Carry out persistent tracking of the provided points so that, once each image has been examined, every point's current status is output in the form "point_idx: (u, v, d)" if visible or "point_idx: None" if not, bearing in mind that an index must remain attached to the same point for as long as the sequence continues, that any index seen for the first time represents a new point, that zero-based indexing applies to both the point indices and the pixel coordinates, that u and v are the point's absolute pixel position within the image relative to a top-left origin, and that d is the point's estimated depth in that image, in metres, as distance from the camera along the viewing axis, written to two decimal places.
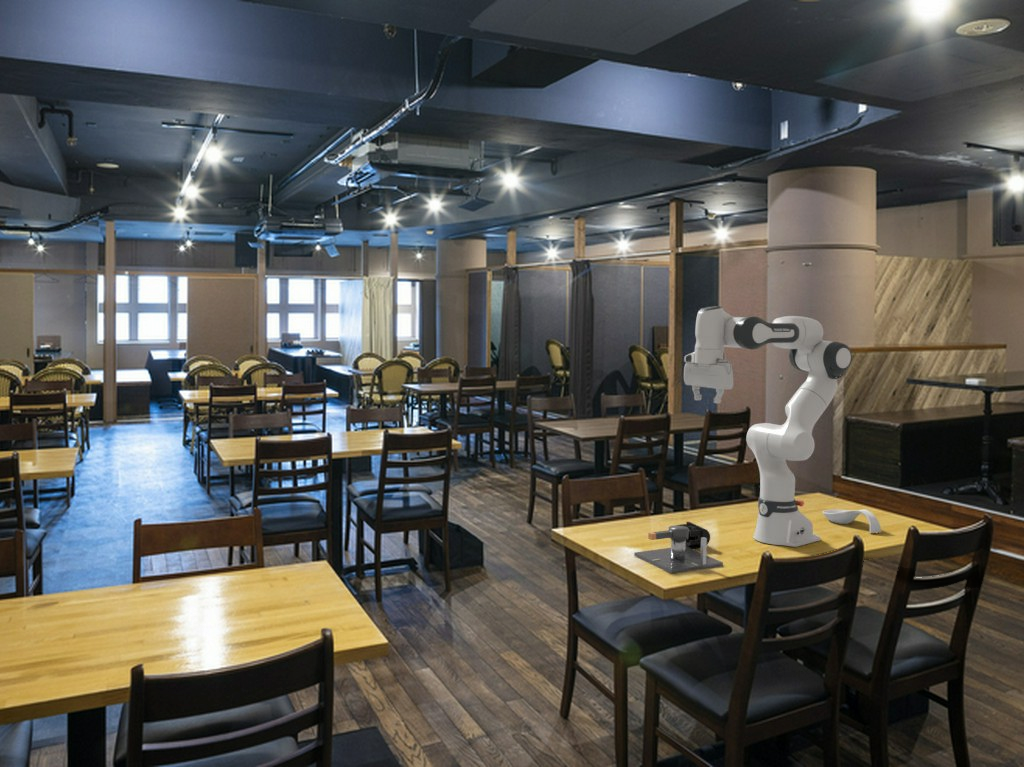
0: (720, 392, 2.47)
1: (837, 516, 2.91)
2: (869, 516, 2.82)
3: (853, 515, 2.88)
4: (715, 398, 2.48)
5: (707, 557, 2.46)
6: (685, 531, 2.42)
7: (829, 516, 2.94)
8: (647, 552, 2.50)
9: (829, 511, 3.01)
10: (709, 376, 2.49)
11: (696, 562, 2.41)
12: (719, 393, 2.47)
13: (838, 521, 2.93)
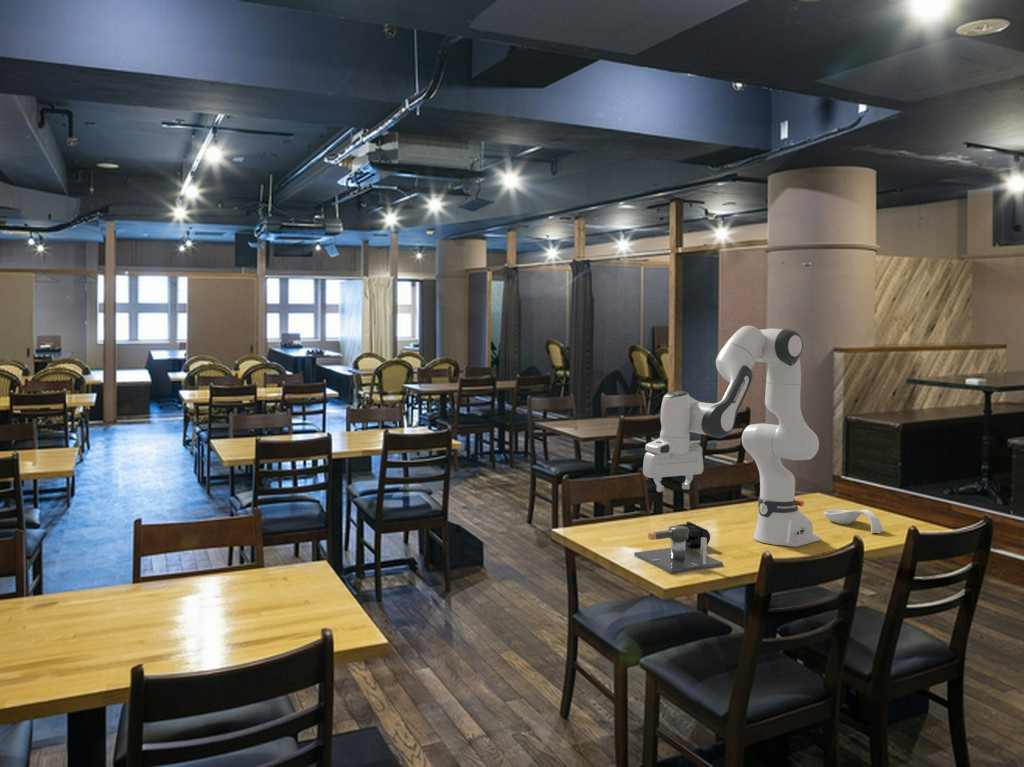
0: None
1: (838, 516, 2.91)
2: (870, 516, 2.81)
3: (854, 515, 2.88)
4: (688, 484, 2.44)
5: (707, 557, 2.46)
6: (685, 531, 2.42)
7: (830, 516, 2.93)
8: (647, 552, 2.50)
9: (830, 511, 3.00)
10: (684, 463, 2.42)
11: (696, 562, 2.41)
12: None
13: (839, 522, 2.92)
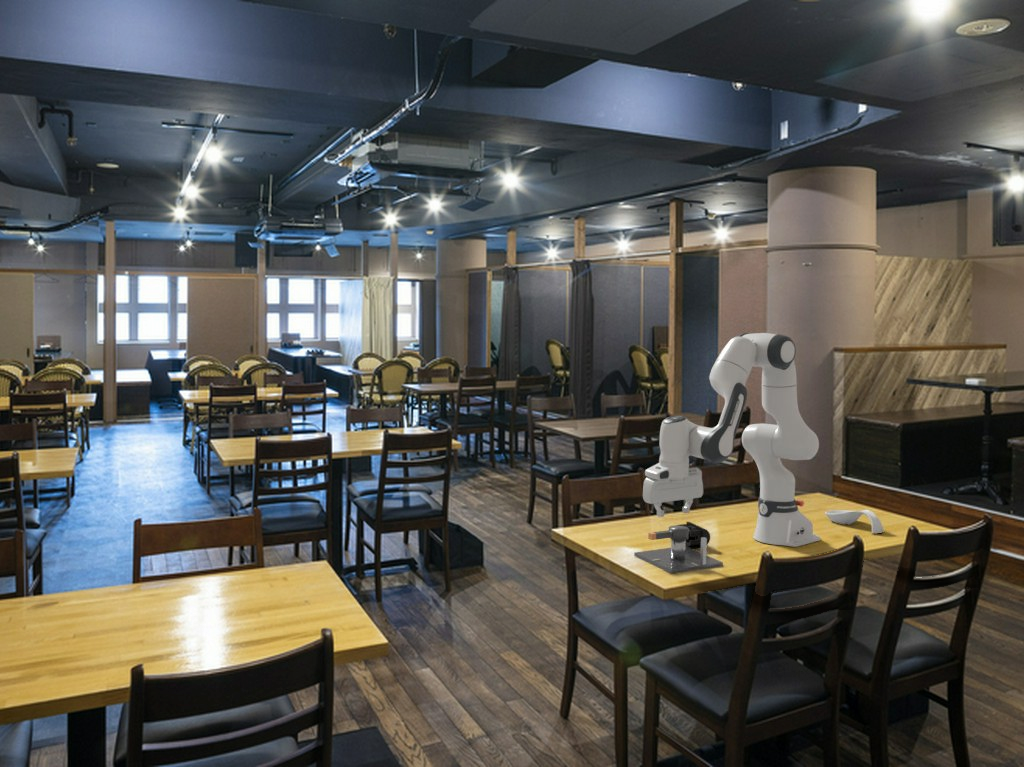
0: None
1: (839, 516, 2.91)
2: (871, 517, 2.81)
3: (855, 516, 2.88)
4: (688, 508, 2.45)
5: (707, 557, 2.46)
6: (685, 531, 2.42)
7: (831, 517, 2.93)
8: (647, 552, 2.50)
9: (831, 511, 3.00)
10: (684, 488, 2.43)
11: (696, 562, 2.41)
12: None
13: (841, 522, 2.92)
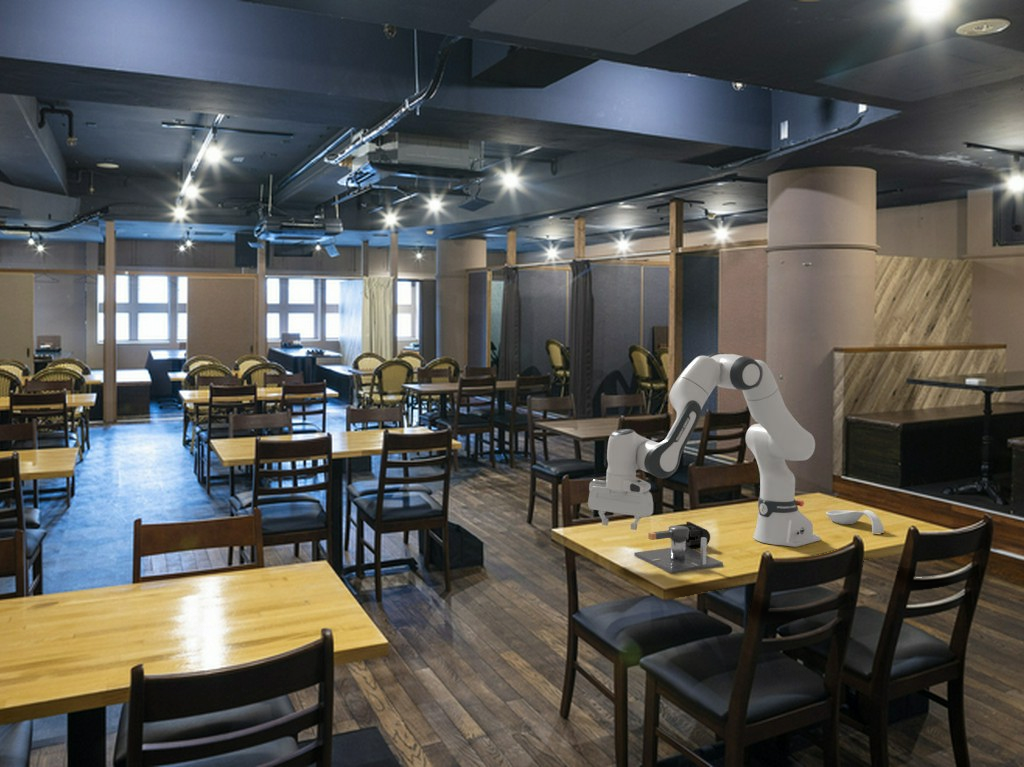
0: None
1: (840, 517, 2.90)
2: (872, 517, 2.80)
3: (856, 516, 2.87)
4: None
5: (707, 557, 2.46)
6: (685, 531, 2.42)
7: (832, 517, 2.93)
8: (647, 552, 2.50)
9: (833, 512, 3.00)
10: None
11: (696, 562, 2.41)
12: None
13: (841, 522, 2.92)
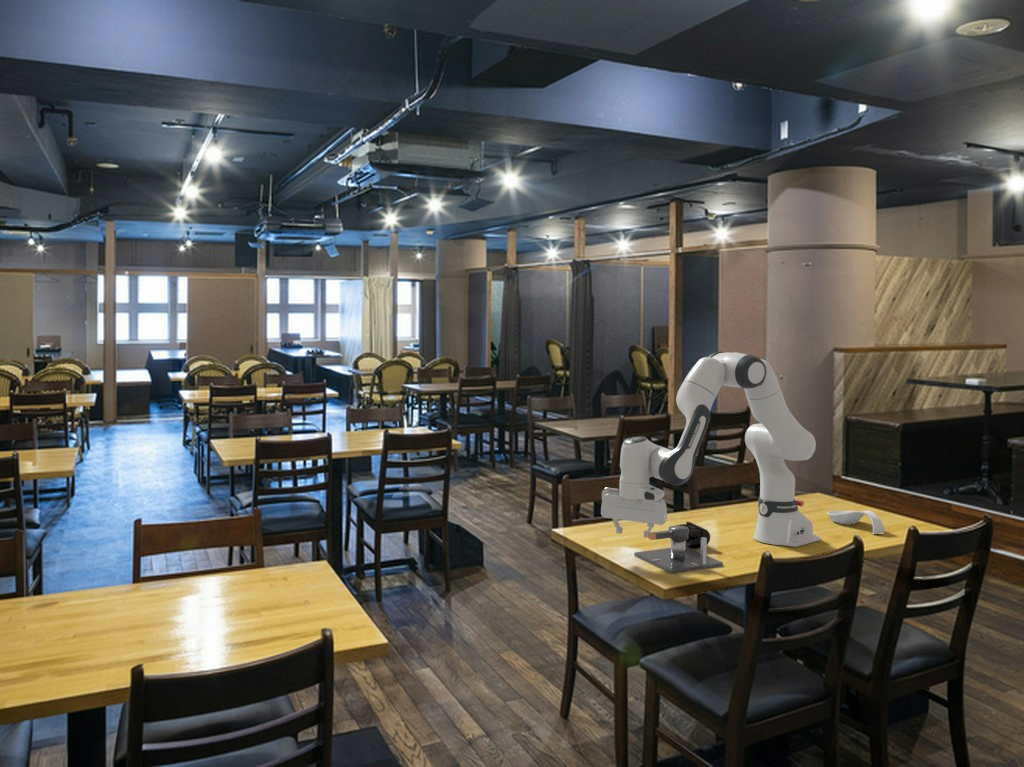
0: None
1: (840, 517, 2.90)
2: (872, 517, 2.80)
3: (857, 516, 2.87)
4: None
5: (707, 557, 2.46)
6: (685, 531, 2.42)
7: (833, 517, 2.93)
8: (647, 552, 2.50)
9: (834, 512, 3.00)
10: None
11: (696, 562, 2.41)
12: None
13: (842, 522, 2.91)
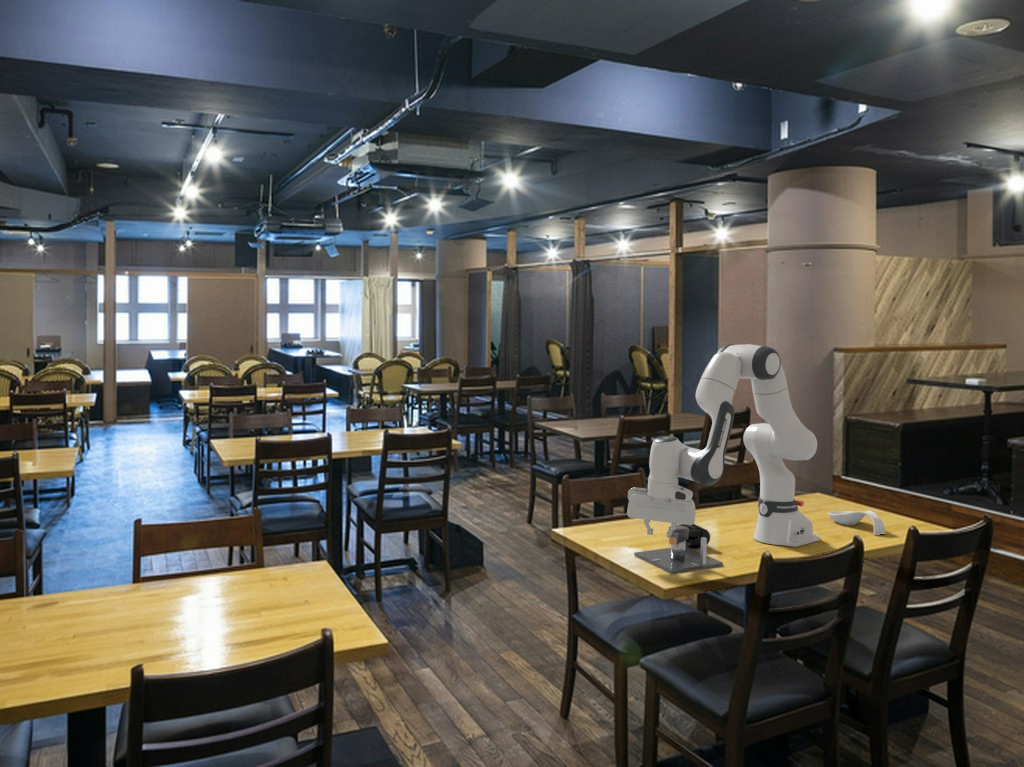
0: None
1: (841, 517, 2.90)
2: (873, 517, 2.80)
3: (858, 516, 2.87)
4: None
5: (707, 557, 2.46)
6: (688, 530, 2.44)
7: (834, 517, 2.92)
8: (647, 552, 2.50)
9: (835, 512, 2.99)
10: None
11: (696, 562, 2.41)
12: None
13: (843, 523, 2.91)
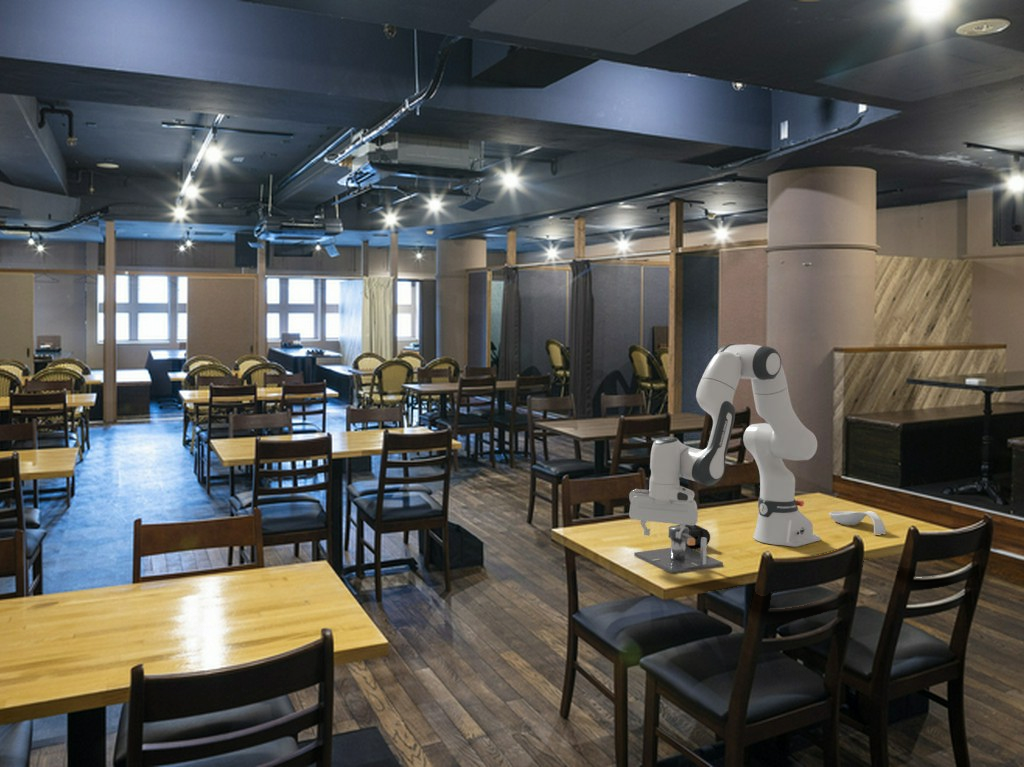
0: None
1: (842, 517, 2.89)
2: (874, 518, 2.79)
3: (859, 517, 2.86)
4: None
5: (707, 557, 2.46)
6: None
7: (835, 517, 2.92)
8: (647, 552, 2.50)
9: (836, 512, 2.99)
10: None
11: (696, 562, 2.41)
12: None
13: (844, 523, 2.91)
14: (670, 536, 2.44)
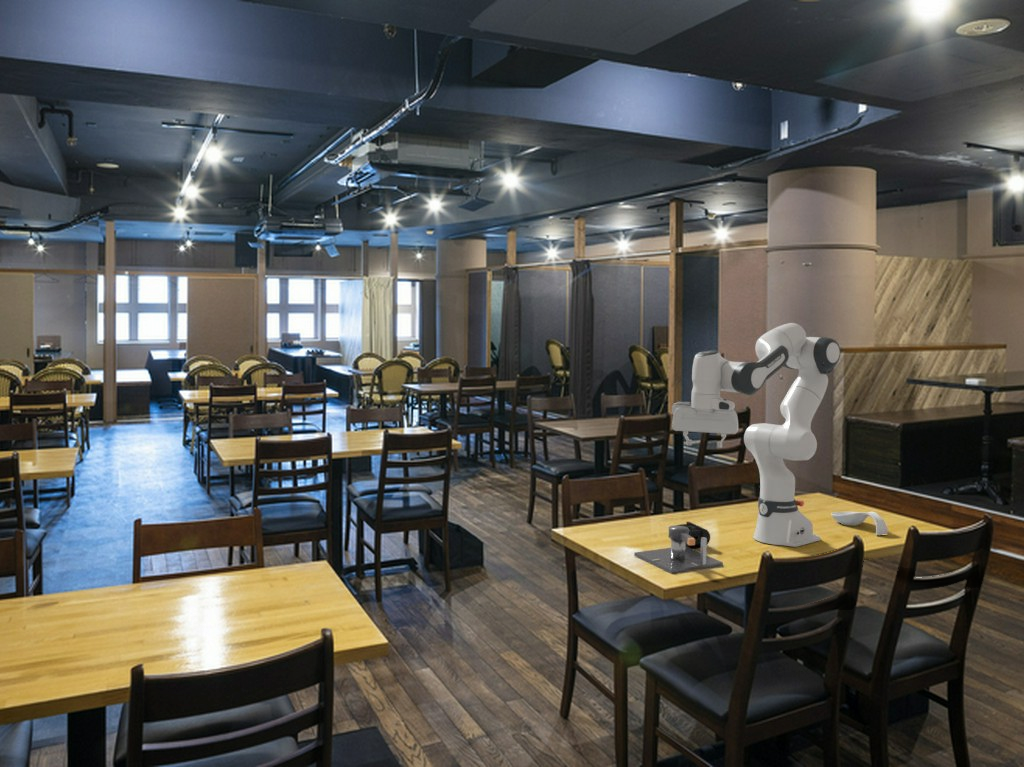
0: None
1: (844, 518, 2.89)
2: (876, 518, 2.79)
3: (861, 517, 2.86)
4: None
5: (707, 557, 2.46)
6: None
7: (837, 518, 2.92)
8: (647, 552, 2.50)
9: (838, 513, 2.98)
10: None
11: (696, 562, 2.41)
12: None
13: (846, 523, 2.90)
14: (670, 536, 2.44)
